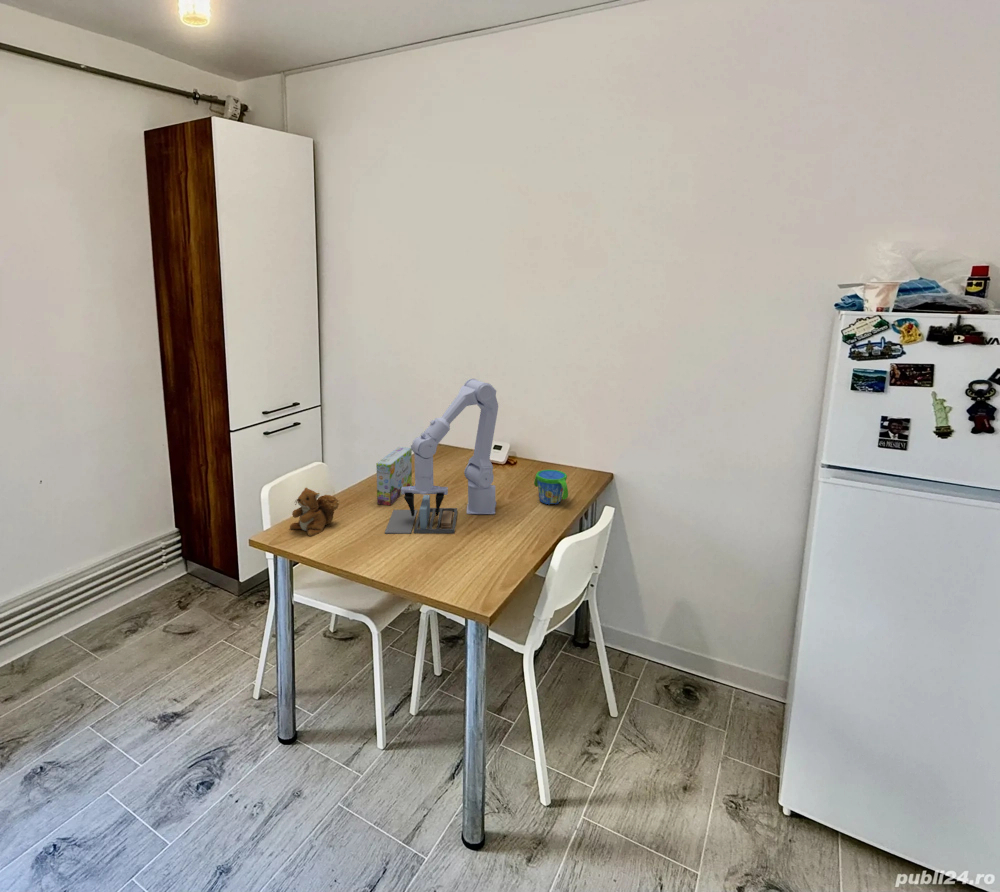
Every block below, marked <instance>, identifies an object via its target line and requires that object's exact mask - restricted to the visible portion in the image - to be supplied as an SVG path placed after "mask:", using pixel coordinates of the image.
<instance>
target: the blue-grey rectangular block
mask: <svg viewBox="0 0 1000 892" xmlns="http://www.w3.org/2000/svg"><path fill="white" fill-rule="evenodd" d="M430 508H431V494H423V495H422V498H421V504H420V506H419V510H420V522H419V529H428V527H429V523H430V518H431V512H430Z"/></svg>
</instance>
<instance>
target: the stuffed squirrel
mask: <svg viewBox="0 0 1000 892" xmlns="http://www.w3.org/2000/svg"><path fill="white" fill-rule="evenodd" d="M320 495H321V494H320V492H316V491H314V490H312V489H309V488H308V487H304V490H303V491H302V492H301V494H300V495H299V496H298V497H297V498H296V500H295V501H294V503H295V504H294V505H295V506H297V504H298V506H299V507H298V508H297V509H294V510H292V513H291V515H292V517H293V518H295V519H297V518H299V520H298V522H292V523H291V524H290V525H289V529H290V530H303V531H305V532H307V536H308V537H313V536H316V535H318V534H320V533H322V532H323V531H324V528H325V525H326V526H327V524H328V525H329V524H331V522H332V521H333V518H334V514H335V510H338V509H339V506H340V503H338V502H341V501H340V500H339V499H338V498H337V497H335V496H333V495H330V494H324V495H321V496H320ZM321 531H322V532H321ZM319 532H320V533H319ZM317 533H318V534H317ZM315 534H316V535H315Z"/></svg>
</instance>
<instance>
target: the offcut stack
mask: <svg viewBox="0 0 1000 892" xmlns="http://www.w3.org/2000/svg"><path fill="white" fill-rule="evenodd" d="M453 517H454V512H453V511H443V513H442V519H441V524H440V529H452V525H453Z"/></svg>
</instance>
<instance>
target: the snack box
mask: <svg viewBox="0 0 1000 892" xmlns="http://www.w3.org/2000/svg"><path fill="white" fill-rule="evenodd" d="M412 452H413V451H412V449H411V447H406V446H405V447H404V446H399V447H397V448H395V449H394V450H393V451H391V452H389V454H387V455H386V456H384V457H383V458H382V459H380V460H379V461H377V463H376V499H377V502H376V504H377V505H382V506H383V505H384V506H391V505H393V503H395V502H396V501H397V500H398V499H399V498H401V496H402V495H401V488H402V487H408V486H413V477H412V474H413V473H412V471H413V470H412V469H413V467H412V463H413V462H412V460H413V459H412V457H413V455H412Z"/></svg>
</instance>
